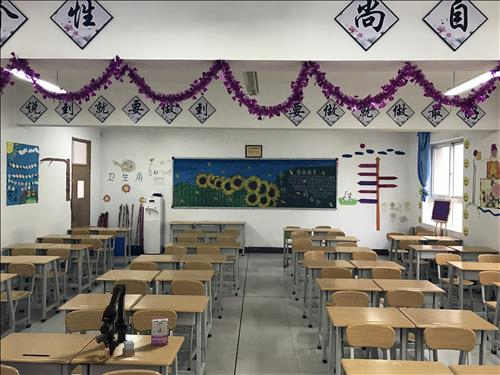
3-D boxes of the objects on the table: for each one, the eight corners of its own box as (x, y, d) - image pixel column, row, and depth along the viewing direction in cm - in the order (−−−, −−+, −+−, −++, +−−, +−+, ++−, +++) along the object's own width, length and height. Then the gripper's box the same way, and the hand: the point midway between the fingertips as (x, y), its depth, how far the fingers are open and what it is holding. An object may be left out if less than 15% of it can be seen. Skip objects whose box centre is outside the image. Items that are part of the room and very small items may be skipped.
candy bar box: (167, 342, 299) (168, 318, 299) (168, 344, 294) (168, 320, 294) (151, 343, 297) (151, 318, 297) (150, 345, 292) (151, 321, 292)
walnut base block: (122, 354, 276) (122, 348, 276) (131, 352, 279) (131, 346, 279) (125, 357, 271) (125, 351, 271) (134, 355, 274) (134, 349, 274)
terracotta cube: (104, 355, 273) (104, 348, 273) (111, 354, 275) (111, 347, 275) (106, 358, 269) (106, 350, 269) (113, 356, 271) (114, 349, 271)
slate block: (123, 348, 276) (123, 341, 276) (131, 346, 278) (131, 340, 278) (126, 350, 272) (126, 344, 272) (134, 349, 274) (134, 342, 274)
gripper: (92, 327, 275) (91, 352, 275) (101, 335, 260) (100, 362, 260) (110, 324, 282) (109, 348, 281) (119, 332, 266) (118, 358, 266)
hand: (109, 354), depth 272 cm, fingers open, 7 cm apart
